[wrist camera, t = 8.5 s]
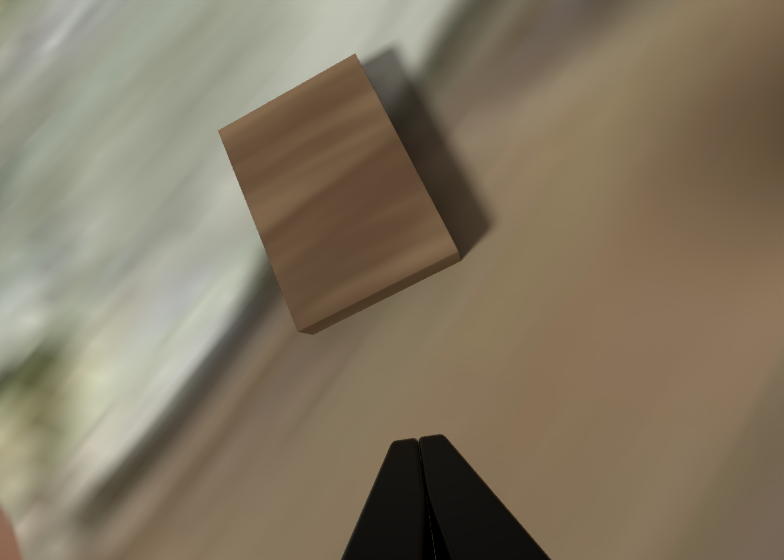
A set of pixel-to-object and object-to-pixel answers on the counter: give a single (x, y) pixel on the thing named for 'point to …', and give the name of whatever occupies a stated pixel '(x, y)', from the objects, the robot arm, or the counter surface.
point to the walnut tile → (335, 198)
